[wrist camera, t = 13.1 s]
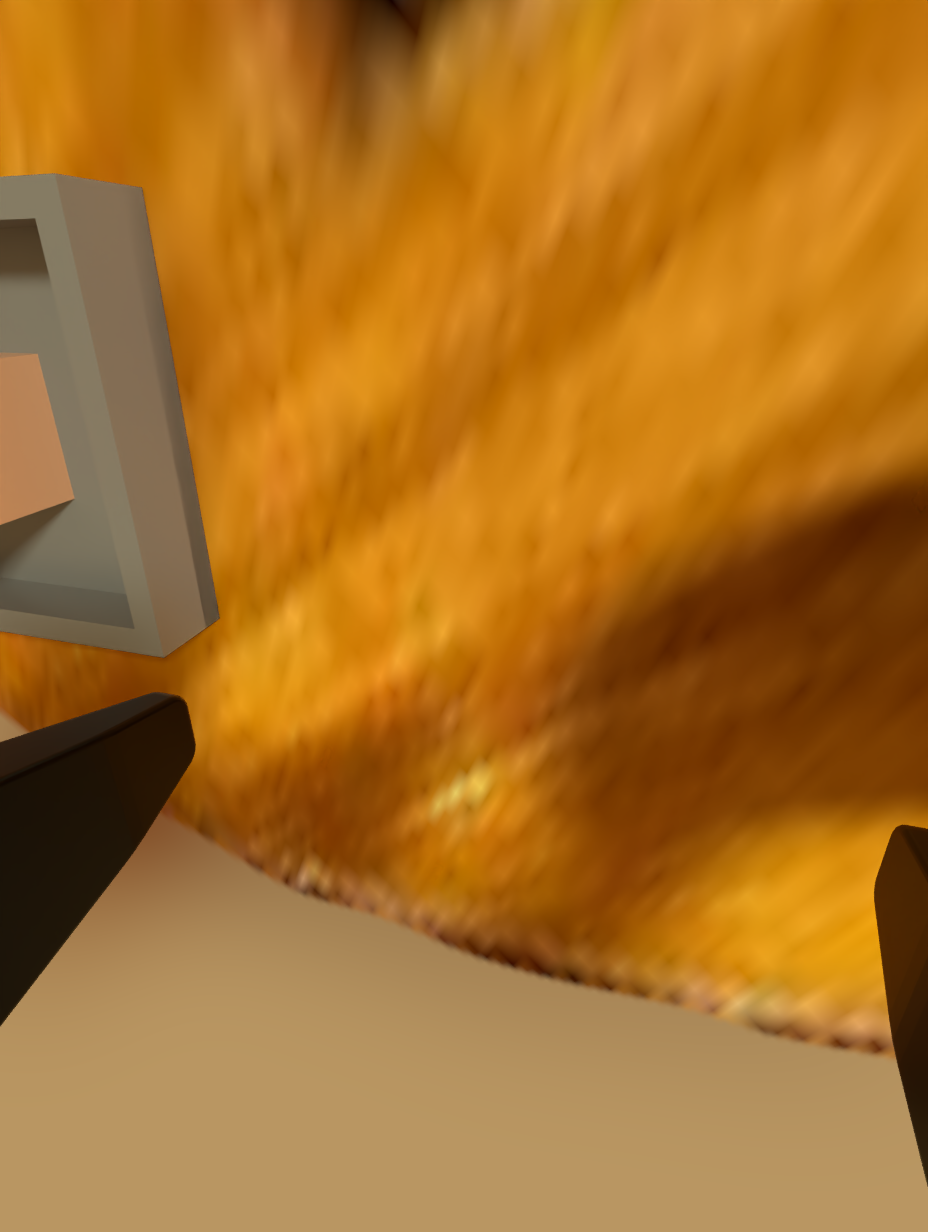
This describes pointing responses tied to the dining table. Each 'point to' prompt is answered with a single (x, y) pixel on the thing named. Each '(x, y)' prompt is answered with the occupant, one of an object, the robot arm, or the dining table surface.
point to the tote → (100, 426)
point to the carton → (28, 441)
